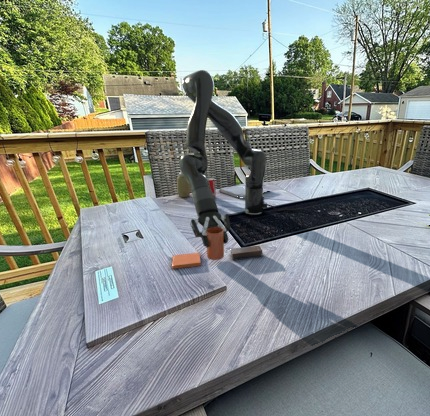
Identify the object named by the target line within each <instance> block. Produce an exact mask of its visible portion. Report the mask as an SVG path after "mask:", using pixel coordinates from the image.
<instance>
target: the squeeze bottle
mask: <svg viewBox="0 0 430 416" xmlns="http://www.w3.org/2000/svg"><path fill="white" fill-rule="evenodd" d="M176 192H177V195H178V197H180V198H188V197H190V194H191V192H192V191H191V188H190V184H189V183H188V181H187V180H186V178H185V176H184V175H183V173H182V171H181V170H180V172H179V173H178V176H177V177H176Z"/></svg>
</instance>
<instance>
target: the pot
mask: <svg viewBox="0 0 430 416" xmlns="http://www.w3.org/2000/svg"><path fill="white" fill-rule="evenodd" d="M206 235H207V238H208V242H209V247H207V248H206V257H207V259H208V260H211V261H218V260H221V259H223V258H224V257H225V244H224V229H223V228H220V227H211V228H208V229H207V230H206Z"/></svg>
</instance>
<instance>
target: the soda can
mask: <svg viewBox="0 0 430 416" xmlns="http://www.w3.org/2000/svg"><path fill="white" fill-rule="evenodd" d="M207 179H208V181H209V185H210V188H211V191H212V193H213V195H214V198H216V196H217V195H216V194H217V193H216V192H217V190H216V180H215V177H207Z"/></svg>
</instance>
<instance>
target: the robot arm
mask: <svg viewBox="0 0 430 416" xmlns="http://www.w3.org/2000/svg"><path fill="white" fill-rule="evenodd" d="M181 86H182V89H183V92H184V93H185V94H186V96H187V97H188V98H189V99H190V100H191V102H193V103H194V107H193V110H192V113H191V115H190V117H189V120H188V122H187V127H186V137H185V147H186V148H187V149H188V150H189V151H192V153H193V154H189V153H186V154H183V155H182V156H181V157H180V158H179V169H180V172H181V171H182V173H183V175H184V176H185V178H186V180H187V181H188V183H189V184H190V189H191V191H190V192H191V195H192V201H193V205H194V208H195V212H196V217H197V218H196V219H194V218H192V219H190V221H189V225H190V228H191V229H192V233H193V234H194V237H195V238H201V241H202V245H203V247H205V248H206V249H207V247H209V242H208V238H207V235H206V230H207V229H208V228H211V227H220V228H223V229H224V245H225V244H227V243H228V241H229V236H228V232H229V231H230V229H232V227H231V222H230V221H231V220H230V215H229V214H228V213H226V214H221V213H220V212H219V209H218V205H217V202H216V199H215V198H216V197H215V198H214V195H213V193H212V191H211V188H210V185H209V181H208V179H207V178H208V177H207V176H206V175H205V174H206V172H207V170H208V168H209V162H208V156H207V150H206V146H205V144H206V134H207V133H206V131H207V123H208V119H209V121H210V122H211V123H212V124H213V125H214V127H215V128H216V129H217V131H218V132H219V133H220V135H222V136H223V138H224V139H225V140H226V141H227V143H229V145H230V146H231V147H232V148H233V149H234V151H235V152H236V153H237V155H238V157H239V158H240V160H241V161H242V162H243V164H244V165H245V166H246V167H248V168H250V172H249V174H246V175H245V179H244V181H245V182H244V184H245V199H244V213H245V214H246V215H248V216H260V215H263V214H264V209H268V207H270V208H272V209H274V210H275V212H279V213H280V212H283V211H293V212H294V211H299V210H300V211H301V210H302V211H304V212H307V209H306V208H304V207H298V208H283V209H277V208H276V207H275V206H274V205H271V204H269V203H268V202H267V201H266V200H265V196H264V194H263V186H264V178H265V177H266V171H267V155H266V153H265V152H264V151H263V150H259V149H255V148H252V146H251V145H250V144H249V143H248V142H247V141H246V138H245V135H244V130H243V128H242V126H241V124H240V122H239V121H238V120H237V118H236V117H235V116H234V115H233V114H232V113H231V112H230V111H229V110H227V109H225V108H224V107H222V106H220V105H219V104H217V103H216V102H215V101H213V95H214V90H215V82H214V79H213V77H212V75H211V74H210V72H208V71H207V70H205V69H200V70H196V71H194V72H191V73H189V74H187V75H186V76H184V77H183V78H182V81H181ZM303 208H304V209H303ZM221 220H222V222H223V223H224V224H223V223H222V222H221ZM198 224H199V225H201V226H202V227H201V228H202V229H201V231H200V229H199V227H198Z"/></svg>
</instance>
